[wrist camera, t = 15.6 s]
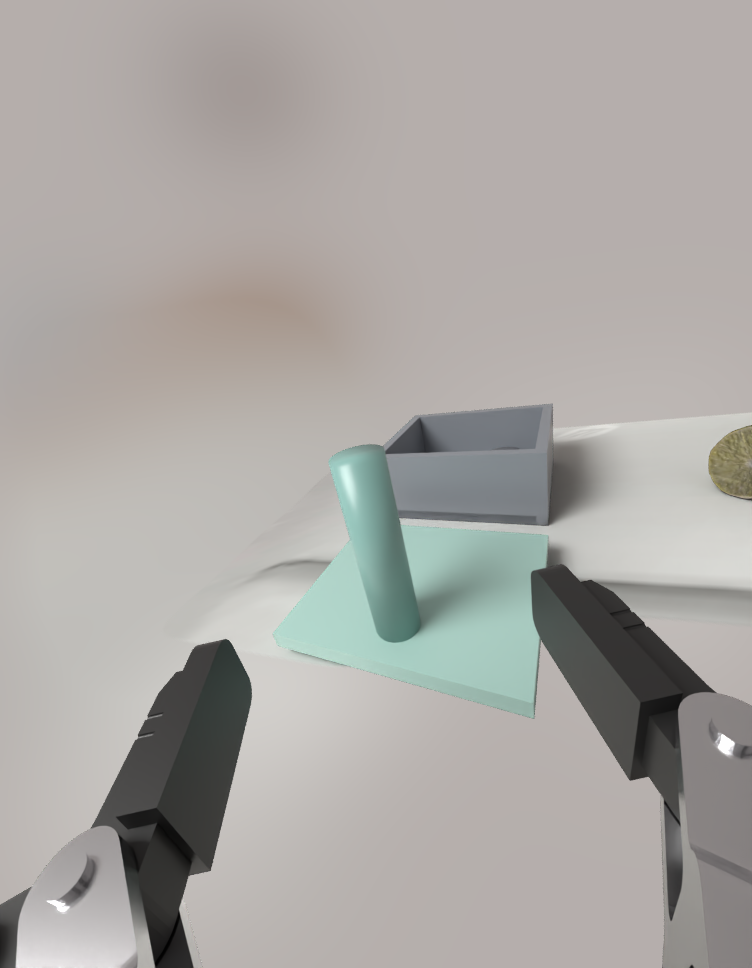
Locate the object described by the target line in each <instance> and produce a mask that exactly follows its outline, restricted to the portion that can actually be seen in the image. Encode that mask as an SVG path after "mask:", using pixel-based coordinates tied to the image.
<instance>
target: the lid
mask: <svg viewBox="0 0 752 968" xmlns="http://www.w3.org/2000/svg"><path fill="white" fill-rule="evenodd" d="M329 466H330V469H331V473H332V477H333V480H334V484H335V487H336V491H337V494H338V498H339V501H340V505H341V508H342V512H343V515H344V519H345V522H346V526H347V529H348V533H349V537H350V540H349V542H348V543H347V544H346V545H345V547H344V548H343V549H342V550H341V551H340V553H339V554H338V555H337V556H336V557H335V559H334V560H333V561H332V562H331V564H330V565H329V566H328V567H327V568H326V570H325V571H324V572H323V573H322V574H321V576H320V577H319V578H318V579H317V580H316V582H315V583H314V584H313V585H312V587H311V588H310V589H309V590H308V591H307V593H306V594H305V595H304V596H303V597H302V599H301V600H300V601H299V602H298V604H297V605H296V606H295V607H294V608H293V610H292V611H291V612H290V613H289V614H288V616H287V617H286V618H285V619H284V621H283V622H282V623H281V624H280V625H279V627H278V628H277V629H276V630H275V631H274V633H273V636H274V638H275V640H276V643H277V645H278V646H280V647H283V648H287V649H290V650H294V651H297V652H301V653H304V654H308V655H311V656H315V657H318V658H322V659H325V660H329V661H333V662H336V663H340V664H343V665H347V666H350V667H354V668H357V669H361V670H365V671H368V672H371V673H375V674H378V675H382V676H385V677H389V678H393V679H396V680H399V681H403V682H406V683H410V684H414V685H417V686H420V687H424V688H427V689H431V690H435V691H438V692H441V693H445V694H448V695H452V696H456V697H459V698H463V699H466V700H470V701H473V702H477V703H480V704H484V705H487V706H491V707H495V708H498V709H501V710H505V711H508V712H512V713H515V714H519V715H522V716H526V717H529V718H533V719H534V715H535V703H536V691H537V678H538V667H539V654H540V643H541V639H540V637H539V635H538V633H537V630H536V627H535V624H534V621H533V616H532V596H531V572H532V571H534V570H538V569H542V568H547V559H548V535H541V534H526V533H511V532H496V531H481V530H466V529H452V528H437V527H422V526H407V525H401V524H400V520H399V515H398V510H397V505H396V501H395V496H394V491H393V487H392V482H391V477H390V472H389V468H388V463H387V458H386V454H385V449H384V447H382V446H380V445H361V446H355V447H352V448H349V449H345V450H343V451H341V452H338V453H337V454H335V455H334V456H332V457H331V458H330V459H329Z"/></svg>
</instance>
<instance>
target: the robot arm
mask: <svg viewBox="0 0 752 968" xmlns="http://www.w3.org/2000/svg"><path fill="white" fill-rule="evenodd" d="M531 596H532V616H533V621H534V624H535V627H536V630H537V633H538V635H539V637H540V639H541V640H542V642H543V644H544V645H545V647H546V648H547V650H548V651H549V653H550V655H551V656H552V658H553V659H554V661H555V663H556V664H557V666H558V667H559V669H560V671H561V672H562V674H563V675H564V677H565V679H566V680H567V682H568V683H569V685H570V687H571V688H572V690H573V691H574V693H575V694H576V696H577V698H578V699H579V701H580V702H581V704H582V706H583V707H584V709H585V710H586V712H587V713H588V715H589V717H590V718H591V720H592V721H593V723H594V724H595V726H596V727H597V729H598V731H599V733H600V734H601V736H602V737H603V739H604V741H605V742H606V744H607V745H608V747H609V748H610V750H611V751H612V753H613V755H614V756H615V758H616V760H617V761H618V763H619V764H620V766H621V768H622V769H623V771H624V772H625V774H626V775H627V777H628V779H629V780H635V779H639V778H644V777H649V778H650V779H651V781H652V782H653V784H654V785H655V787H656V788H657V790H658V791H659V792H660V794H661V800H660V806H661V807H660V808H661V837H662V863H663V864H662V865H663V893H664V947H663V964H662V968H752V706H751V705H749V704H747V703H745V702H743V701H740V700H738V699H736V698H733V697H730V696H727V695H723V694H718V693H716V692H715V691H714V690H712V689H711V688H710V687H709V686H708V685H707V684H706V683H705V682H704V681H703V680H702V679H701V678H700V677H699V676H698V675H697V674H695V673H694V671H693V670H692V669H691V668H690V667H689V666H688V665H686V663H684V662H683V661H682V660H681V659H680V658H679V657H678V656H677V655H676V654H675V653H674V652H673V651H672V650H671V649H670V648H669V647H668V646H667V645H666V644H665V643H664V642H663V641H662V640H661V639H660V638H659V637H658V636H657V635H656V634H655V633H654V632H653V631H652V630H651V629H650V628H649V627H646V626H645V624H644V622H643V621H642V620H641V619H640V618H639V617H638V616H637V615H636V614H635V613H634V612H631V611H630V608H629V607H628V606H627V605H626V604H625V603H624V602H623V601H622V600H621V599H620V598H619V597H618V596H617V595H616V594H615V593H614V592H612V591H610V590H609V589H607V588H605V587H603V586H601V585H599V584H598V583H596V582H594V581H592V580H588V581H583V582H580V581H579V580H578V579H577V578H576V577H575V576H574V575H573V573H572V572H571V571H570V570H569V569H568V568H567V567H566V566H564V565H562V564H560V565H556V566H551V567H547V568H542V569H538V570H534V571H532V572H531ZM251 698H252V689H251V683H250V679H249V677H248V675H247V673H246V671H245V669H244V667H243V665H242V663H241V661H240V659H239V657H238V655H237V654H236V651H235V649H234V647H233V645H232V644H231V642H230V641H229V640H227V639H224V640H220V641H215V642H211V643H206V644H202V645H198V646H196V647H195V648H194V649H193V650H192V652H191V654H190V656H189V658H188V660H187V663H186V665H185V667H184V670H183V671H179V672H176V673H175V674H174V676H173V677H172V678H171V679H170V680H169V682H168V683H167V684H166V685H165V686H164V687H163V689H162V690H161V691H160V692H159V694H158V696H157V698H156V700H155V702H154V704H153V706H152V708H151V710H150V712H149V714H148V719H147V720H145V722H144V724H143V726H142V728H141V730H140V732H139V734H138V739H137V740H135V742H134V744H133V746H132V748H131V750H130V752H129V754H128V756H127V758H126V760H125V762H124V764H123V766H122V768H121V770H120V772H119V774H118V776H117V778H116V780H115V782H114V784H113V786H112V788H111V790H110V792H109V794H108V796H107V798H106V800H105V802H104V804H103V806H102V808H101V810H100V812H99V814H98V816H97V818H96V820H95V822H94V824H93V825H92V827H91V829H89V830H87V831H85V832H83V833H82V834H80V835H78V836H77V837H76V838H74V839H73V840H71V841H70V842H69V843H68V844H67V845H66V846H65V847H63V848H62V849H61V850H60V851H59V852H58V853H57V854H56V855H55V856H54V857H53V858H52V860H51V861H50V862H49V863H48V865H46V867H45V868H44V870H43V871H42V872H41V874H40V875H39V876H38V878H37V880H36V881H35V883H34V884H33V886H32V887H30V888H28V889H27V890H25V891H23V892H22V893H20V894H18V895H16V896H15V897H13V898H11V899H10V900H8V901H6V902H4V903H3V904H1V905H0V968H203V966H202V962H201V959H200V955H199V951H198V947H197V944H196V940H195V936H194V933H193V929H192V925H191V922H190V918H189V914H188V910H187V907H186V904H185V902H184V900H183V899H182V897H183V894H184V890H185V887H186V883H187V879H188V876H190V875H194V874H199V873H203V872H208V871H211V867H212V863H213V859H214V855H215V850H216V846H217V842H218V838H219V833H220V830H221V826H222V821H223V817H224V813H225V809H226V804H227V801H228V797H229V792H230V788H231V784H232V780H233V776H234V772H235V767H236V763H237V759H238V755H239V751H240V747H241V743H242V739H243V734H244V730H245V726H246V722H247V718H248V714H249V709H250V705H251Z"/></svg>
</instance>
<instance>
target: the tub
mask: <svg viewBox="0 0 752 968" xmlns="http://www.w3.org/2000/svg"><path fill="white" fill-rule="evenodd" d="M382 447H384V449H385V454H386V458H387V463H388V468H389V472H390V477H391V482H392V487H393V491H394V496H395V501H396V505H397V510H398V515H399V518H415V519H434V520H453V521H472V522H491V523H510V524H529V525H548V522H549V509H550V496H551V483H552V470H553V404H544V405H532V406H521V407H509V408H497V409H486V410H475V411H462V412H451V413H440V414H428V415H417V416H414V417H413V418H412V419H411V420H410V421H409V422H408V423H407V424H406V425H405V426H404V427H403V428H402V429H400V430H399V432H397V433H396V434H395V435H394V436H393V437H392V438H391V439H390V440H389V441H388V442H387V443H386V444H385V445H384V446H382ZM500 447H517V448H519V449H517V450H493V449H496V448H500Z"/></svg>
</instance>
